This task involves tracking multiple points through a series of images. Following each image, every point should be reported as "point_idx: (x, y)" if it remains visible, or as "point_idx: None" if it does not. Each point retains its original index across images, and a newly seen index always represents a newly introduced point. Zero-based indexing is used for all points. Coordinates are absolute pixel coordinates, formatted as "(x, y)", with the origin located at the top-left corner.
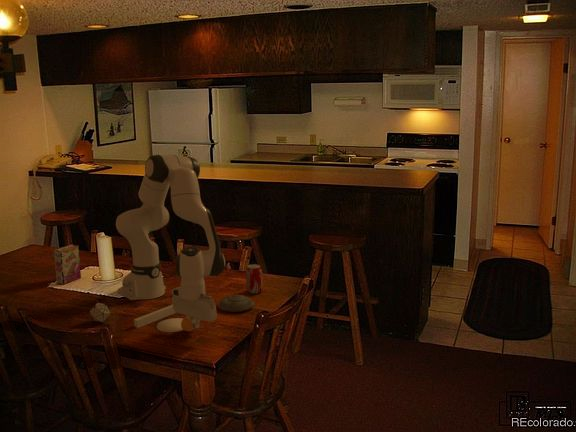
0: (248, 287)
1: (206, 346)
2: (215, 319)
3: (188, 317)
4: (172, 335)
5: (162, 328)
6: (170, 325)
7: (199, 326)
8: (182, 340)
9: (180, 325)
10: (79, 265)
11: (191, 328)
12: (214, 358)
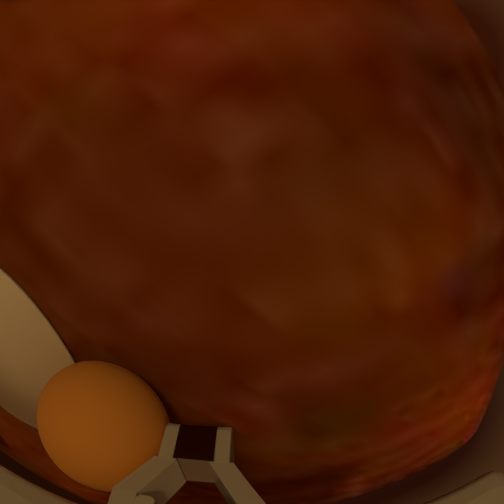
0: None
1: (401, 428)
2: (493, 473)
3: (95, 486)
4: None
5: (25, 414)
6: (2, 373)
7: (230, 430)
8: None
9: (20, 352)
10: None
11: None
12: (467, 432)
